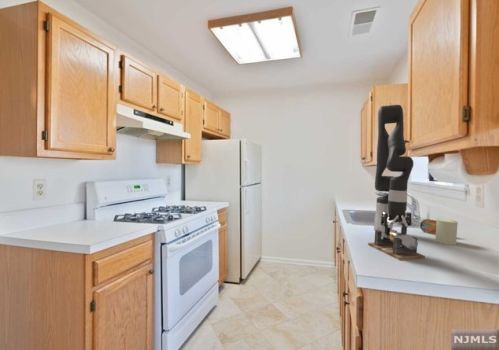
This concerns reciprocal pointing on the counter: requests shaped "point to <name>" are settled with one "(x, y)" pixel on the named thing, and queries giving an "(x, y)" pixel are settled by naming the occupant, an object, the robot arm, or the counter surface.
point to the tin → (428, 226)
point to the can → (446, 231)
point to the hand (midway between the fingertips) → (395, 235)
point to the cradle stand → (394, 248)
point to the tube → (405, 240)
